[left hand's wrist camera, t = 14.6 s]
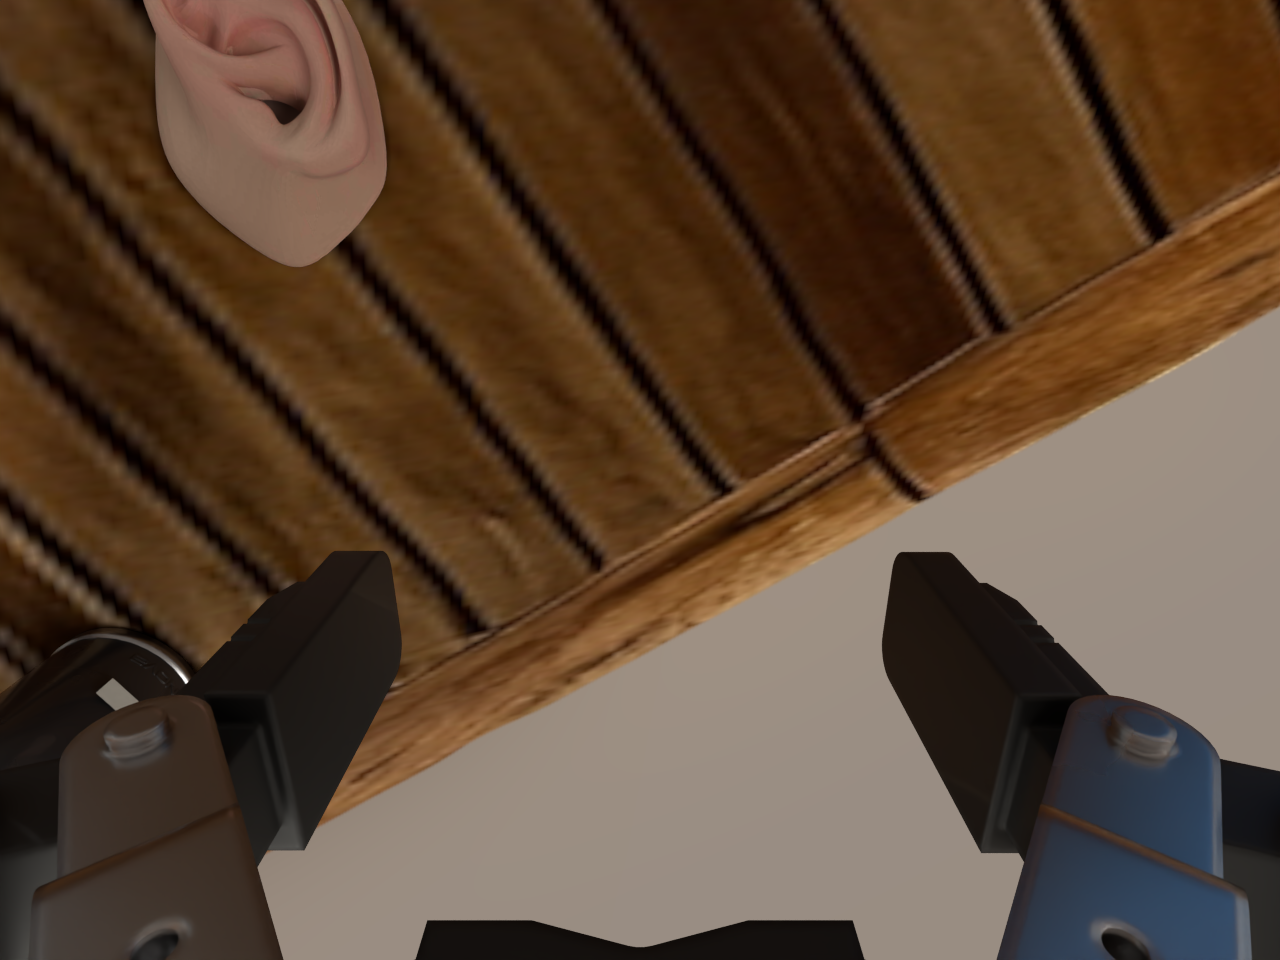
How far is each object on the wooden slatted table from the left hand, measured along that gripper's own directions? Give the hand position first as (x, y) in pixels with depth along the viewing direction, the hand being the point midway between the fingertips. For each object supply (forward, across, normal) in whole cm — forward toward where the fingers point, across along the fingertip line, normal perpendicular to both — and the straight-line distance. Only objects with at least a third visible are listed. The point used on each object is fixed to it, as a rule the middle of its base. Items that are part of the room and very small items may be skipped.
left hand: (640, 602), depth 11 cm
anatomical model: (+28, +17, -10) cm, 34 cm away
